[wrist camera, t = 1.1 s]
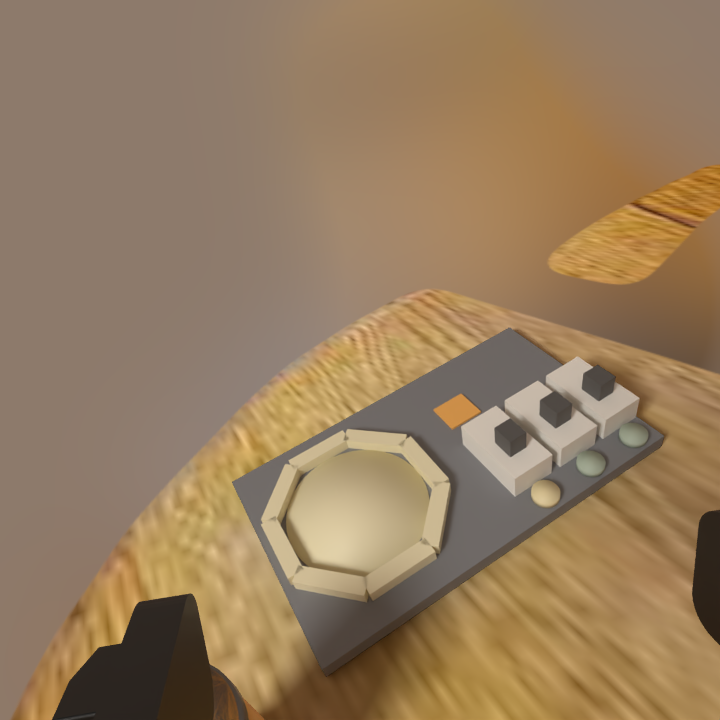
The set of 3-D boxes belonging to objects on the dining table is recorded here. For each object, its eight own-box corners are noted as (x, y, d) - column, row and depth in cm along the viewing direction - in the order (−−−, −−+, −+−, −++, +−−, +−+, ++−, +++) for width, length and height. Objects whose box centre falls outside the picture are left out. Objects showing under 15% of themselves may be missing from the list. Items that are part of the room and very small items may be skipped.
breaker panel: (509, 337, 44) (509, 294, 42) (661, 446, 35) (674, 400, 32) (236, 490, 38) (214, 452, 36) (326, 676, 28) (305, 644, 26)
